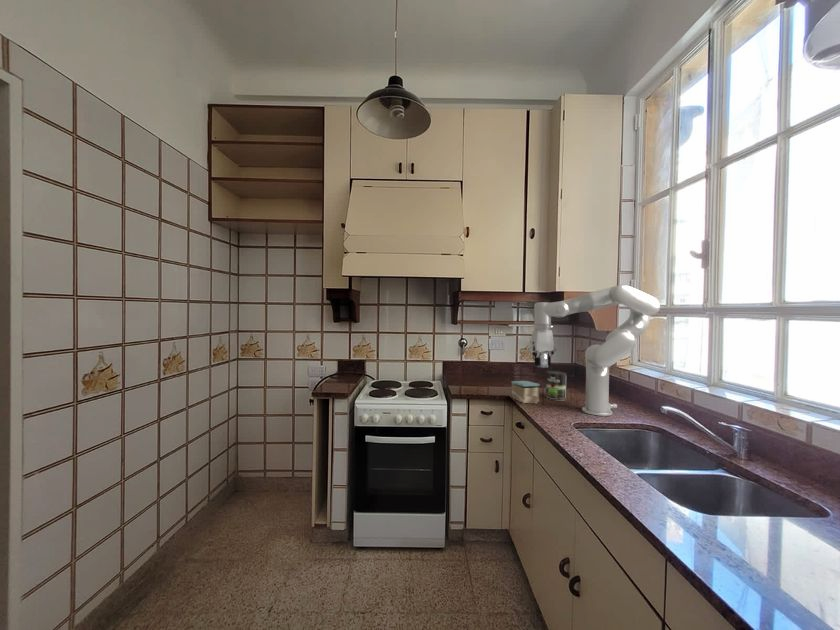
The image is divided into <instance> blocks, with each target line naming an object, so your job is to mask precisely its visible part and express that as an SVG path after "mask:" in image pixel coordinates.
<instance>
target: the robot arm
mask: <svg viewBox="0 0 840 630" xmlns="http://www.w3.org/2000/svg"><path fill="white" fill-rule="evenodd" d="M616 305H617V306H618V305H622V306H623V305H624V306H626V307H627V308H629V311H630V312H629V316H628V318H627V319H626V321H624V322H623V323H622V324H620V325H619V326H618V327H616V328H615V329H614V330H612V331H610V332H609V333H608V334H607V335H606V337H605V341H604V342H603V343H602V344H597V343H596V344H592V345H590V346H588V348H587V349H586V350H585V354H584V355H585V356H584V358H585V406H582V408H581V411H582V412H583V413H586V414H589V415H591V416H600V417H609V416H612V415H613V411H612V409H617V408H618V405H617V403H610V402H609V401H610V400H609V398H610V397H609V395H610V394H609V392H610V391H609V390H610V386H609V385H610V370H609V368H610V367H612V366H613V365H614V364H616V363H618V362H619V361H620V360H622V359H623V358H625V357H626V356H627V355H628V354H630V353H632V351H633V350H634V349H635V348H636V344H637V338H638V337H640V336H641V335H642V334H644V333H645V332H646V331H647V330H648V328H649V326H650V320H651V316H652V317H653V316H655V315H656V314H658V312H659V311H660V309H661V303H660V301H659V299H657V298H656V297H655V296H652V294H651V295H650V294H648V293H646V292H644V291H642V290H640V289H638V288H634V287H633V286H630V285H628V284H618V285H615V286H611V287H607V288H603V289H600V290H595V291H591V292H588V293H587V292H586V293H583V294H581V295H578V296H576V297H572V298H568V299H564V300H561V301H554V302H553V301H552V302H548V301H547V302H546V301H545V302H543V301H541V302H540V301H539V302H535V304H534V309H533V310H534V311H533V312H534V313H533V315H534V322H533V323H534V325H533V326H534V327H533V330H532V333H531V340H530V347H529V348H528V350H527V351H528V352H529V353H530V354H531V355H532V356H533V358H534V366H536V367H537V366H540V358H539V354H540V352H547V353H548V367H550V366H551V362H552V360H551V359H552V357H553V355H554V354H555V353H556V352H557V347H556V346H555V341H554V333H553V330H552V328H553V327H554V325H552V318H553V317H555V318H564V317H566V316H569V315H572V314H576V313H577V314H578V313H582V312H584V313H585V312H591V311H596V310H601V309H605V308H609V307H613V306H616Z"/></svg>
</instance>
